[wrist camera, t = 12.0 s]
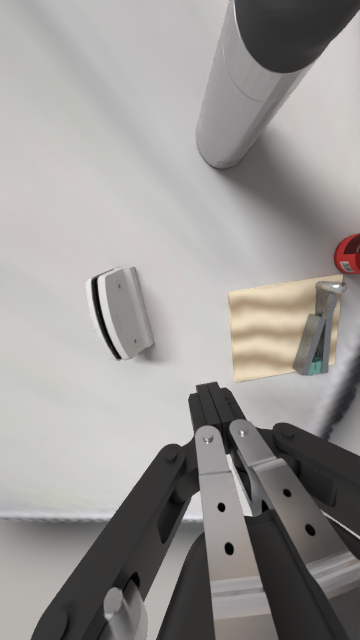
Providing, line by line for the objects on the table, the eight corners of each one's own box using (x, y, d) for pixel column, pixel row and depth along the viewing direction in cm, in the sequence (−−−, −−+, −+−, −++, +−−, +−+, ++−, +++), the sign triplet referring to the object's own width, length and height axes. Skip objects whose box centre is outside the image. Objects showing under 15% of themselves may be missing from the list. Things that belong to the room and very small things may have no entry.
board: (227, 291, 39) (229, 292, 38) (337, 274, 41) (343, 274, 39) (234, 379, 45) (236, 382, 44) (329, 361, 47) (334, 364, 45)
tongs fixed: (310, 282, 39) (331, 284, 34) (324, 279, 39) (347, 281, 35) (306, 367, 45) (323, 379, 40) (318, 365, 45) (337, 377, 40)
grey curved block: (154, 344, 41) (132, 370, 32) (134, 345, 42) (108, 371, 33) (133, 264, 36) (101, 269, 27) (112, 269, 38) (74, 274, 28)
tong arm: (315, 291, 40) (333, 294, 36) (327, 293, 40) (345, 296, 36) (292, 367, 44) (305, 378, 40) (302, 368, 45) (317, 378, 41)
